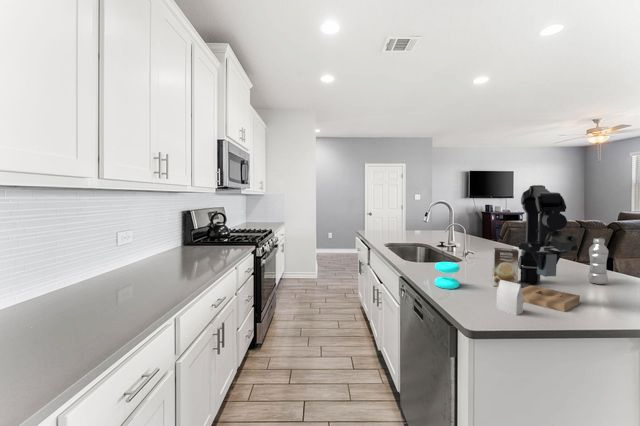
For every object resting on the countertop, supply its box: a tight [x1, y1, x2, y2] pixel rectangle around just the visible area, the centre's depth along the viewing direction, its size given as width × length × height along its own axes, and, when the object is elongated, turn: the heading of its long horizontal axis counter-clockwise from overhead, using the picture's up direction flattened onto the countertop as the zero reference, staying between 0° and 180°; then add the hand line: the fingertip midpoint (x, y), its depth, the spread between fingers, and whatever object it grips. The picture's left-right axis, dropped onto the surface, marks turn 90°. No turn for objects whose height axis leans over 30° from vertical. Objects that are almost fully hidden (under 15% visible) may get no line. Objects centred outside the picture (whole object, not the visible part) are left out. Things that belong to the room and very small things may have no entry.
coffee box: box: [491, 247, 520, 288], centre depth 137 cm, size 9×6×16 cm
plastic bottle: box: [587, 237, 609, 285], centre depth 139 cm, size 6×7×20 cm
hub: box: [521, 285, 581, 313], centre depth 117 cm, size 16×14×3 cm
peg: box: [537, 250, 557, 277], centre depth 116 cm, size 4×4×9 cm
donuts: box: [434, 261, 461, 290], centre depth 137 cm, size 10×10×10 cm
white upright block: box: [496, 280, 524, 316], centre depth 107 cm, size 4×7×10 cm, turn 29°
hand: (546, 269), depth 116 cm, fingers closed on peg, 4 cm apart
